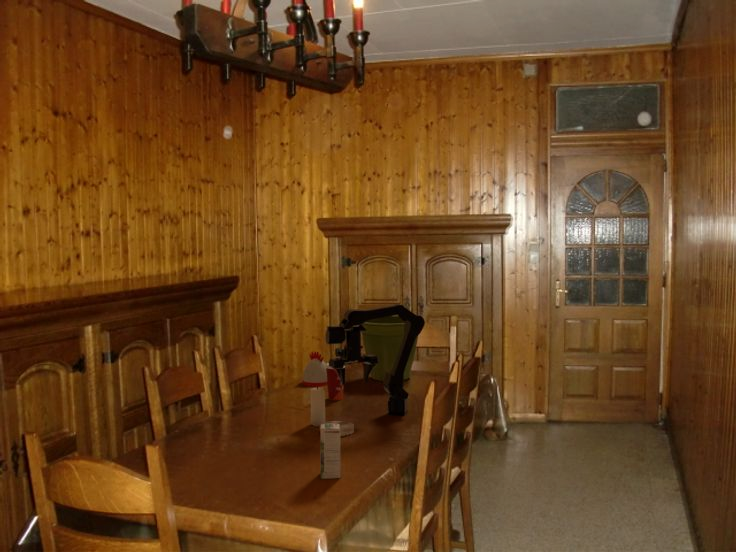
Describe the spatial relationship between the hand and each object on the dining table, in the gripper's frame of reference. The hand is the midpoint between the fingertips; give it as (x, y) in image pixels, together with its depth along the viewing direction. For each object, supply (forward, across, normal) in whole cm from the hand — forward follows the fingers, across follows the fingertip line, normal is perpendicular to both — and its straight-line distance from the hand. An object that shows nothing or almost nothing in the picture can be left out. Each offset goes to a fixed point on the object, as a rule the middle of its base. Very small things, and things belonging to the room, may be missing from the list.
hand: (354, 383), depth 259 cm
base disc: (+13, +14, +14) cm, 24 cm away
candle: (+13, +16, +2) cm, 21 cm away
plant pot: (+13, -48, -54) cm, 74 cm away
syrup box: (+13, +35, +53) cm, 65 cm away
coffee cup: (+13, -7, -31) cm, 34 cm away
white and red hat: (+13, -13, -64) cm, 67 cm away
